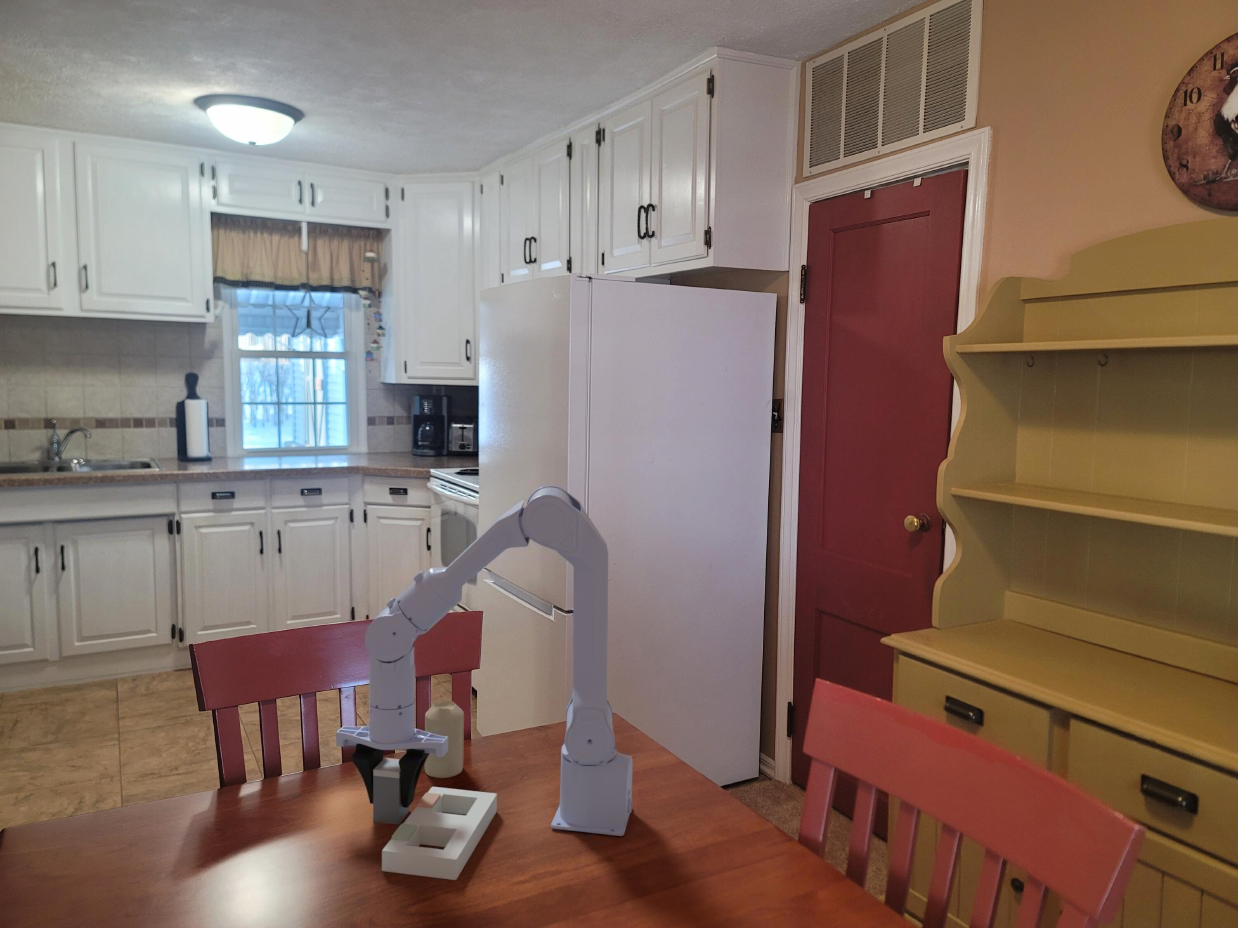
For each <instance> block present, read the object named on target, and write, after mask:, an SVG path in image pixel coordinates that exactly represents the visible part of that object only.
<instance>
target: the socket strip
mask: <svg viewBox="0 0 1238 928" xmlns="http://www.w3.org/2000/svg"><path fill="white" fill-rule="evenodd" d="M424 793H425V794H424V795H423V796H422V797H421V799H420V800H419V801H418V803H417V805H416V806H415V808H414V809H413V810H412V812H411V813H410V814H409V815H408V816H407V818H406V819H405V821H404V822H403V823H400V824H399V826H398V828H397V829H396V830H395V831H394V833H393V834H392V835H391V839H390V840H389V841H388V842H387V844H386V845H385V846H384V847H383V848H382V850H381V872H388V873H395V874H404V875H411V876H419V877H427V878H435V879H445V880H451V881H457V879H458V878H459V876H460V875H461V873H462V872H463V869H464V868H465V866H466V865H467V863H468V861H469V859H470V857H471V856H472V854H473V852H474V851H475V849H476V847H477V845H479V842H480V841H481V839H482V837H483V836H484V835H485V832H486V830H487V829H488V827H489V826H490V824H491V822H492V820H493V819H494V817H495V815H496V813H497V811H498V810H497V809H498V807H497V806H498V793H497V792H496V793H495V792H486V791H485V792H483V791H477V790H475V791H474V790H466V789H457V788H448V787H438V786H431V787H430V789H429V790H428V791H427V792H424ZM420 845H423V846H431V847H423V846H420ZM432 846H434V847H440V848H441V847H442V848H443V849H439V848H432Z"/></svg>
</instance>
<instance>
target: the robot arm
mask: <svg viewBox="0 0 1238 928" xmlns="http://www.w3.org/2000/svg"><path fill="white" fill-rule="evenodd" d="M525 501H526V498H523V500H521V501H520V502H518V503H516V504H514V505H513V506H512V507H511V508H509V509H508V510H507V511H506V512H504V513H503V514H501V515H500V516H499V517H498V518H497V519H496V520H495V521H493V523H492V524H490V526H488V527H487V528H486V529H485V530H484V531H483V532H482V533H481V534H479V536H478V537H477V538H476V539H475V540H474V541H473V542H472V543H471V544H470V545H469V546H468V547H467V548H466V549H465V550H464V551H462V552H461V553H460V554H459V555H458V556H457V557H456V558H455V559H454V560H453V561H452V562H451V563H450V564H449V565H448V566H446V567H431V568H428V570H427V571H424V570H420V571H419V572H417V574H415V575H414V576H413V581H414V582H413V584H411V585H410V586H409V587H408V588H407V589H405V591H403V592H402V594H401V595H399V596H398V597H397V598H395V597H392V598H390V599H389V600H388V601H387V603H386V606H387V607H386V608H384V609H383V610H381V611H380V612H379V613H378V614H377V616H375V618H374V619H373V620H372V622H371V623H370V624H369V626H368V627H367V628H366V631H365V634H364V635H365V636H364V645H365V648H366V650H367V652H368V653H369V664H370V665H369V670H368V675H369V682H368V683H369V684H368V685H369V687H368V689H369V690H368V693H369V694H368V696H369V697H368V709H369V710H368V713H369V714H368V723H369V724H368V725H366V726H345V725H343V726H342V727H340V728H339V729H338V730H337V731H336V732H335V746H336V747H342V748H344V747H346V746H355V751H354V753H352V754H351V762H352V763H353V765H354V766H355V767H356V769H357V770H358V773H360V776H361V778H362V780H363V783H364V787H365V789H366V792H367V797H368V800H369V804H372V805H373V769H374V768H375V767H376V766H377V765H378V764H379V763H380V762H381V761H382V760H383V759H384V754H385V751H402V752H403V751H405V752H406V753H405V754H403V755H402V757H401V758H399V759H400V760H399V766H400V771H401V777H402V807H405V808H408V807H409V806H411V805H412V803H413V802H414V798H415V793H416V789H417V785H418V781H419V780H420V779H419V778H420V775H421V773H422V770H423V768H424V767H425V762H426V760H427V758H428V756H429V754H430V753H432V754H435V756H438V757H443V756H444V755H445V754H446V753H447V751H448V737H447V736H440V735H436V734H432V733H429V732H426V731H425V730H422V729H419V728H415V727H416V725H415V724H416V665H415V646H414V645H413V644H414V643H415V642H416V641H417V639H418V637H419V636H421V635H425V634H426V633H428V632H429V631H430V630H431V629H432V628H433V627H434V626H435V625H436V624H437V623H439V621H441V620H442V619H443V618H444V617H445V616H446V615H447V614H449V612H450V611H452V610H453V609H454V608H455V607H456V606H457V605H458V604H459V603H461V601H462V598H463V586H464V585H465V584H466V583H468V582H469V581H470V580H472V579H473V578H474V577H475V576H476V575H478V574H479V573H480V572H481V571H482V570H483V569H484V568H486V567H487V566H489V564H490V563H492V562H493V561H494V560H495V559H496V558H498V557H499V556H500V555H501V554H502V553H504V552H505V551H506V550H508V549H512V548H525V547H528V546H529V543H530V540H531V541H532V542H534V543H536V544H537V545H540V546H543V547H545V548H547V549H550V550H552V551H555V552H557V553H558V554H559V555H560V556H562V557H563V559H565V560H566V561H567V562H568V563H569V564H571V565H572V567H573V594H572V596H573V597H572V598H573V602H572V605H573V607H572V609H573V611H572V612H573V615H572V616H573V618H572V619H573V621H572V625H573V626H572V627H573V629H572V630H573V631H572V632H573V633H572V635H573V636H572V637H573V638H572V639H573V640H572V696H571V698H570V700H569V702H568V704H567V705H566V710H565V719H566V726H565V727H566V729H565V731H566V732H565V735H564V743H563V745H562V746H561V751H560V784H559V785H560V786H559V788H560V791H559V805H558V807H557V809H556V812H555V815H554V817H553V818H552V822H551V824H550V827H551V829H556V830H565V831H573V832H582V833H583V832H584V833H591V834H600V835H608V836H619V837H622V836H624V835H625V833H626V829H627V825H628V822H629V818H630V815H631V813H632V808H633V798H632V795H633V793H632V792H633V763H634V762H633V757H632V756H631V755H628V754H623V753H622V752H619V751H617V746H616V744H615V740H616V738H615V732H614V729H613V728H614V726H613V709H612V705H611V703H610V701H609V699H608V618H609V616H608V615H609V614H608V613H609V611H608V610H609V609H608V608H609V607H608V605H609V600H608V599H609V550H608V544H607V541H605V539H604V537H603V535H602V534H601V533H600V531H599V530H598V528H597V527H596V526H595V524H594V522H593V521H592V520H591V518H590V517H589V514H588V513H587V511H586V509H585V508H584V507H583V505H582V503H581V501H580V500H579V499H577V498H576V497H574V496H573V495H572V494H570V493H569V492H568V491H566V489H563V487H560V486H556V485H543V486H540V487H539V488H537V489H535V490H534V491H533V492H532V493H531V494H530V496H529V498H528V500H527V502H526V506H525V507H524V504H525Z"/></svg>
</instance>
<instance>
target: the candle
mask: <svg viewBox="0 0 1238 928" xmlns="http://www.w3.org/2000/svg"><path fill="white" fill-rule="evenodd" d="M464 720H465V713H464V711H463V709H462V708H460V707H459V706H458V705H457V704H456V703H455V702H454V701H453V700H441V701H440V702H435V703H433V705H432V706H431V707H430V708H428V710H427V711H426V712H425V714H424V731H426V732H429V733H432V734H436V735H440V736H447V737H448V751H447V753H446V754H445V755H444V756H443V757H438V756H435V754H432V753H430V754H429V756H428V758H427V760H426V762H425V764H424V771H425V774H426V775H427V776H429V777H432V778H436V779H446V778H452V777H455V776H458V775H459V774H461V772H462V771H463V769H464V735H465V734H464V725H465V723H464V722H465V721H464Z"/></svg>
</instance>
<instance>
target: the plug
mask: <svg viewBox="0 0 1238 928" xmlns="http://www.w3.org/2000/svg"><path fill="white" fill-rule="evenodd" d="M400 759H401V758H392V757H383V760H382V761H381V762H380V763H379V764H378V765H377V766H376V767H375V768H374V769H373V804H372V805H373V806H372V808H373V809H372V812H373V815H372V820H373V822H375V823H383V824H392V825H401V824H402V823H401V822H403V820H404V819H405V818H406V817H407V815H408V814H409V812H410V810H411V809H410V808H411V807H410V806H411V805H410V806H409V807H408V808H405V807H402V777H401V771H400V766H399V760H400Z"/></svg>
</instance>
